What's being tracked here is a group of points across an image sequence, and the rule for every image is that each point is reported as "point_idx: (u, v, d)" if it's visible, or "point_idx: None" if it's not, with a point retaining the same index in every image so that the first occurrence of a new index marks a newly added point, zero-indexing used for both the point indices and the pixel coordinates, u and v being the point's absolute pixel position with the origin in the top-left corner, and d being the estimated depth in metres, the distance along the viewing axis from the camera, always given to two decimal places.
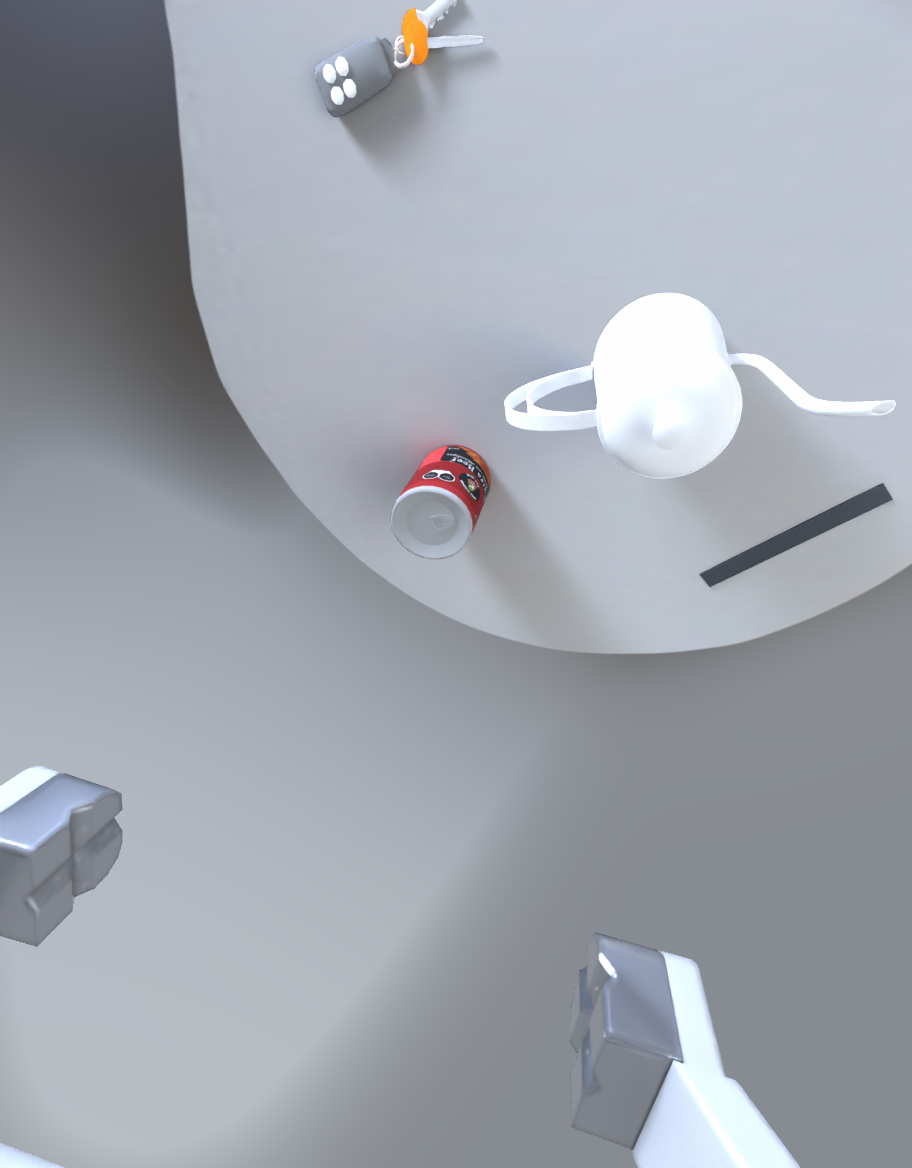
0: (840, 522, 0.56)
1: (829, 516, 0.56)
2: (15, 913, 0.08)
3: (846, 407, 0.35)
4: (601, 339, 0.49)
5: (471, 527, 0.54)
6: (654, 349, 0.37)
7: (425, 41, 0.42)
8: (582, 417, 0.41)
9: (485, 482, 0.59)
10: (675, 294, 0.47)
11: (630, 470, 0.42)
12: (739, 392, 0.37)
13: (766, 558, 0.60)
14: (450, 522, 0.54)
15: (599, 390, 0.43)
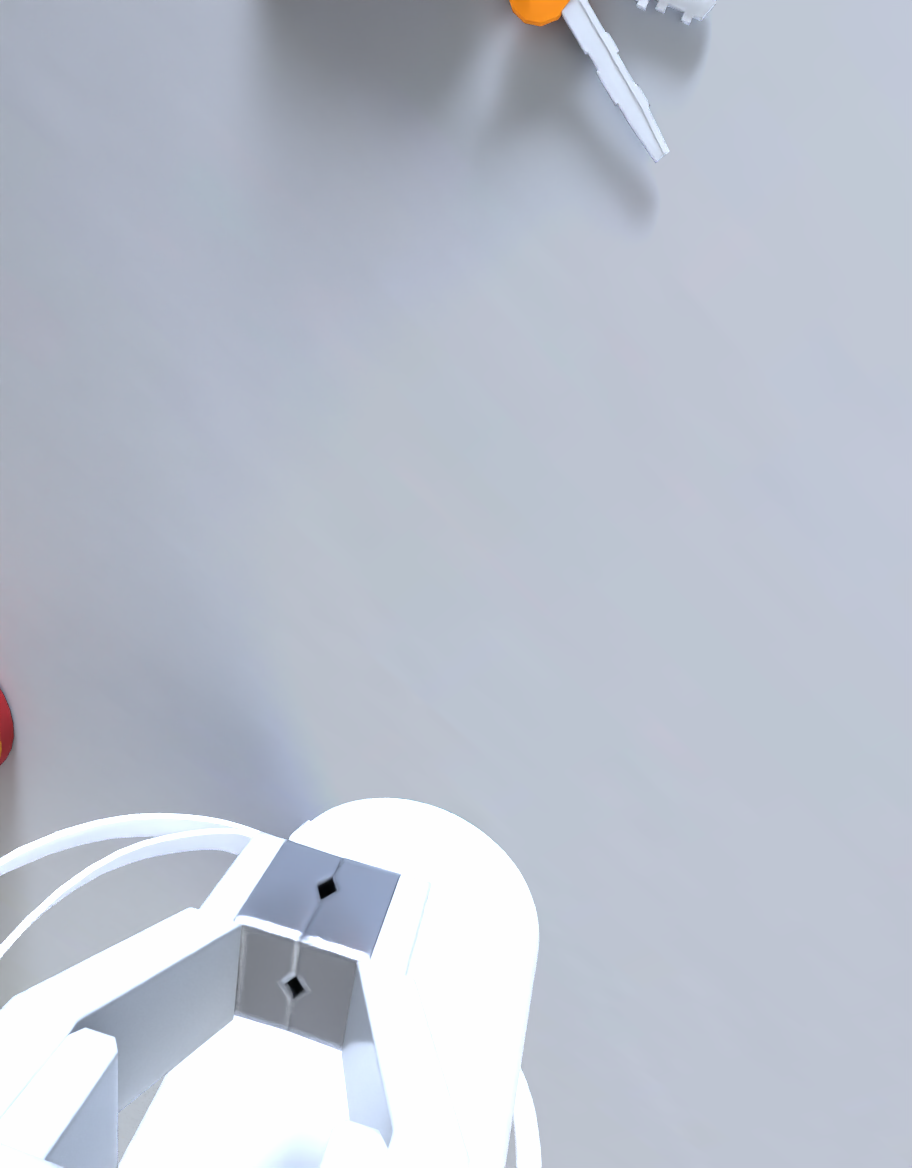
0: None
1: None
2: (271, 998, 0.08)
3: None
4: (347, 832, 0.21)
5: None
6: None
7: None
8: None
9: None
10: (517, 886, 0.21)
11: None
12: None
13: None
14: None
15: (156, 1148, 0.13)
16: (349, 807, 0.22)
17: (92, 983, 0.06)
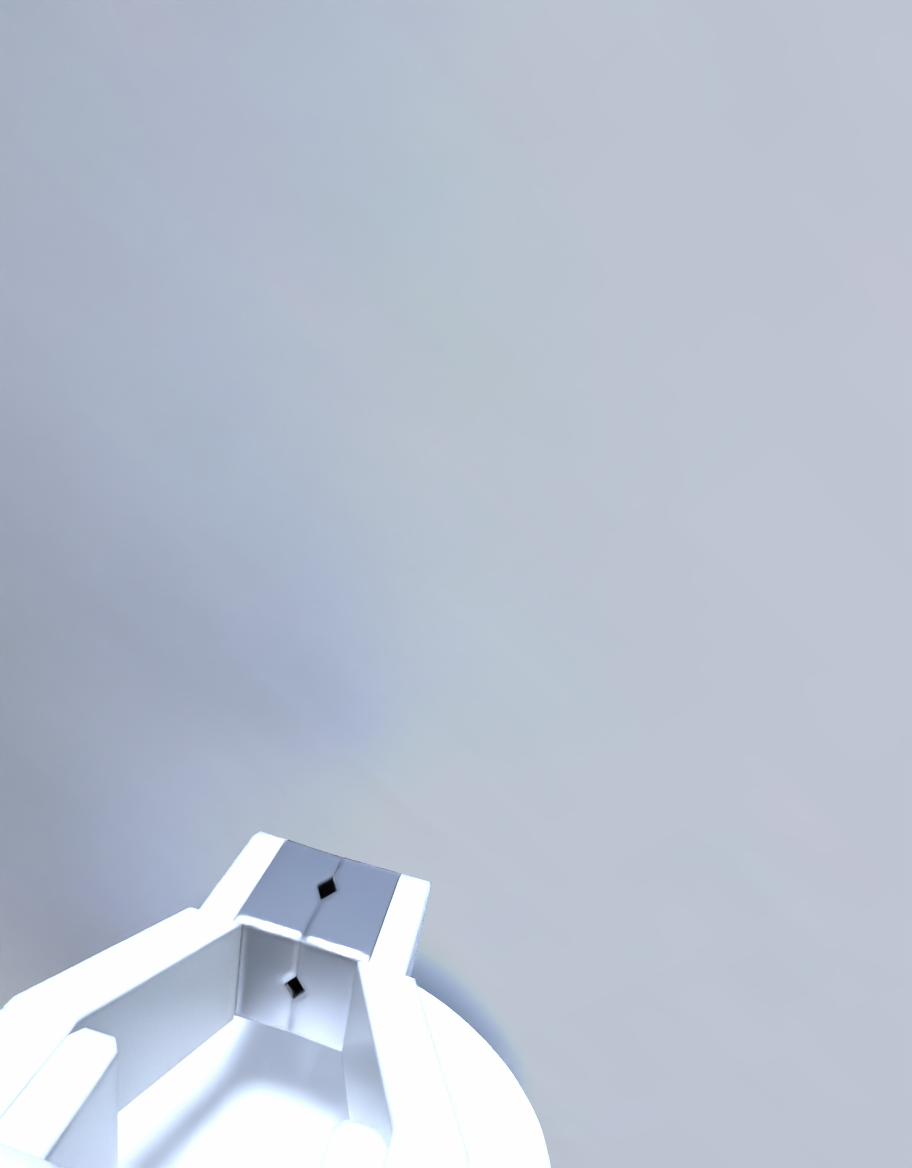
0: None
1: None
2: (270, 997, 0.08)
3: None
4: None
5: None
6: None
7: None
8: None
9: None
10: (510, 1128, 0.11)
11: None
12: None
13: None
14: None
15: None
16: None
17: (92, 983, 0.06)
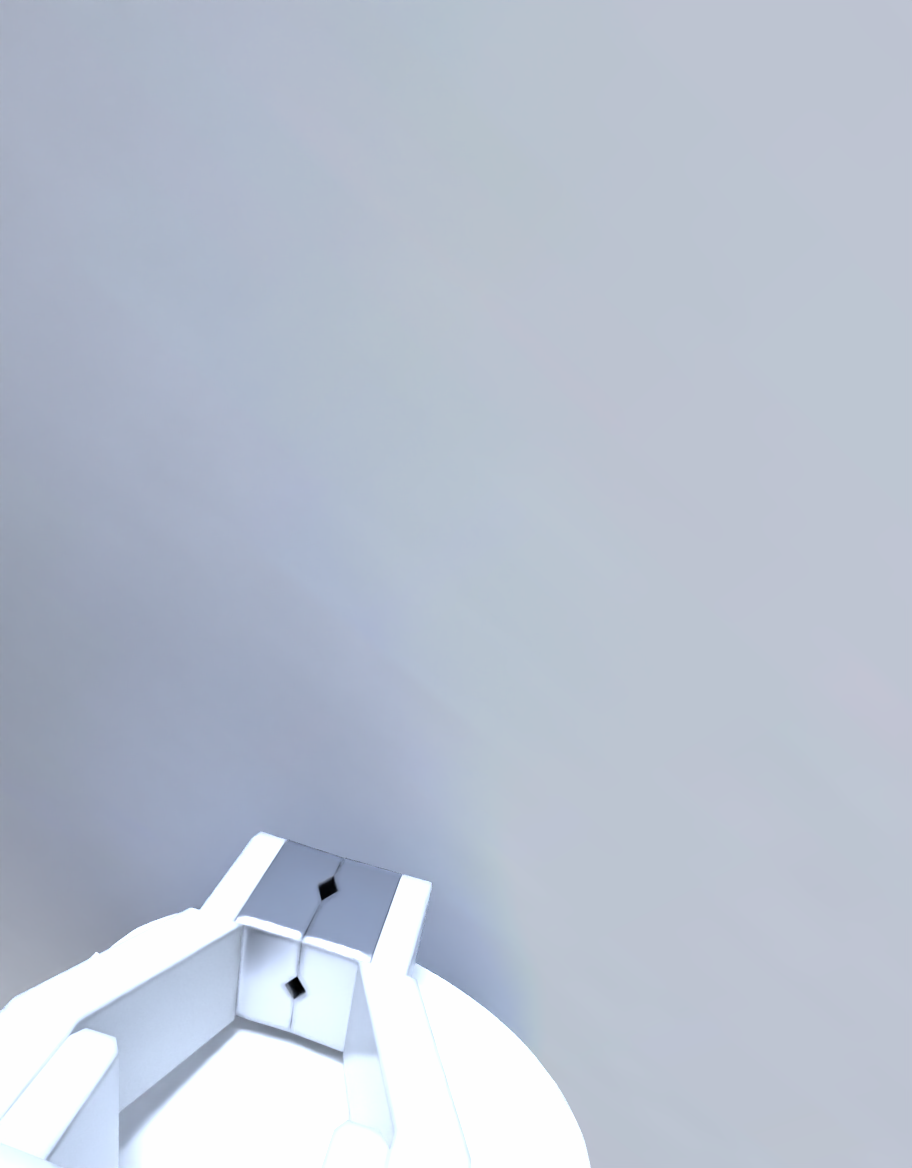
0: None
1: None
2: (271, 998, 0.08)
3: None
4: None
5: None
6: None
7: None
8: None
9: None
10: (538, 1142, 0.09)
11: None
12: None
13: None
14: None
15: None
16: None
17: (93, 983, 0.06)
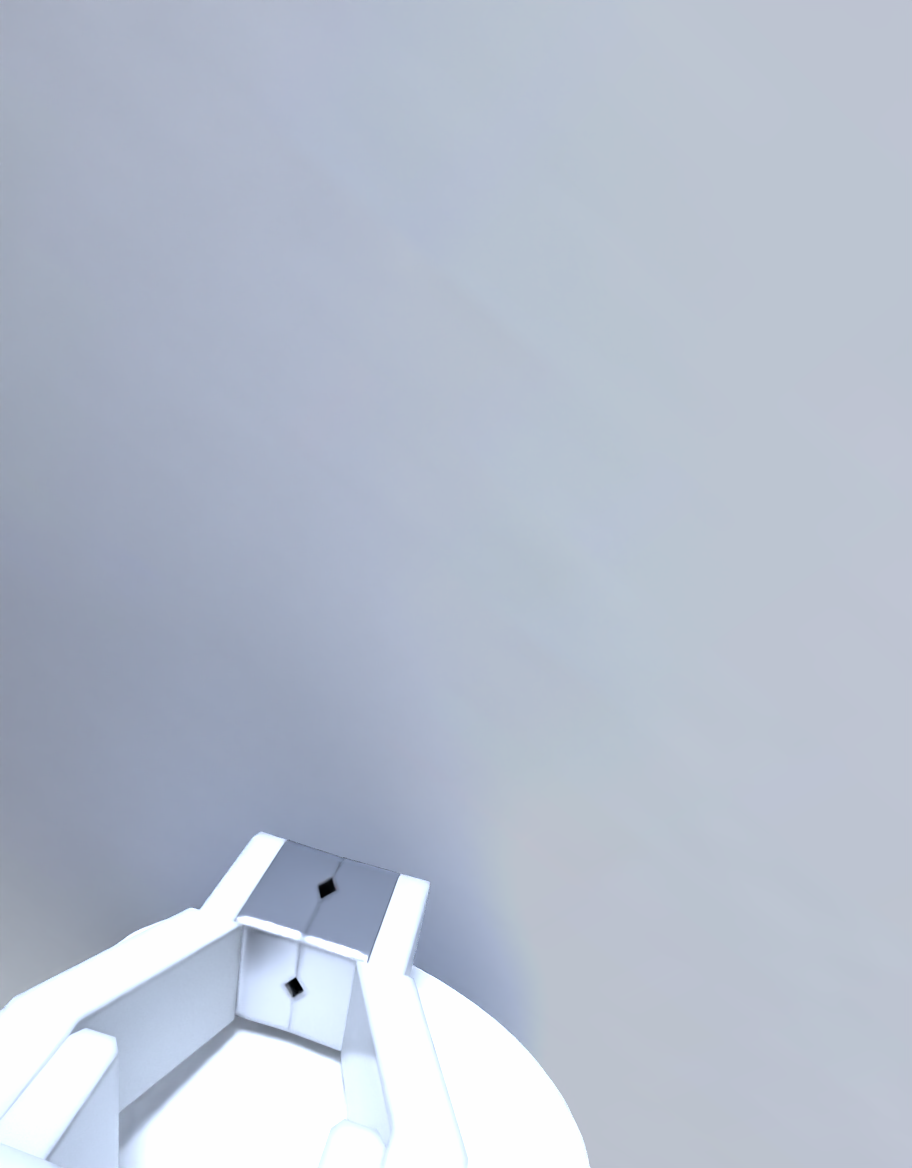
0: None
1: None
2: (271, 998, 0.08)
3: None
4: None
5: None
6: None
7: None
8: None
9: None
10: (537, 1144, 0.09)
11: None
12: None
13: None
14: None
15: None
16: None
17: (93, 983, 0.06)
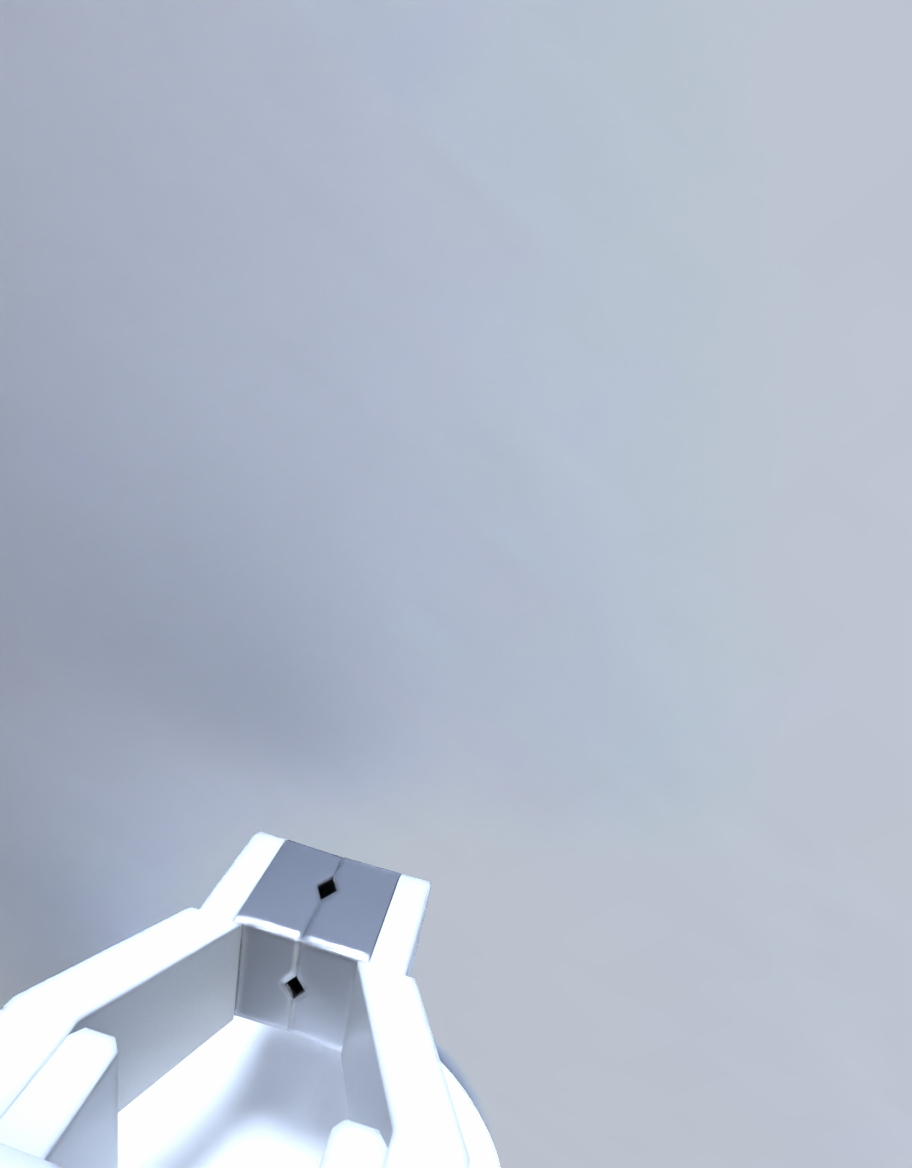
0: None
1: None
2: (270, 998, 0.08)
3: None
4: None
5: None
6: None
7: None
8: None
9: None
10: None
11: None
12: None
13: None
14: None
15: None
16: None
17: (92, 983, 0.06)
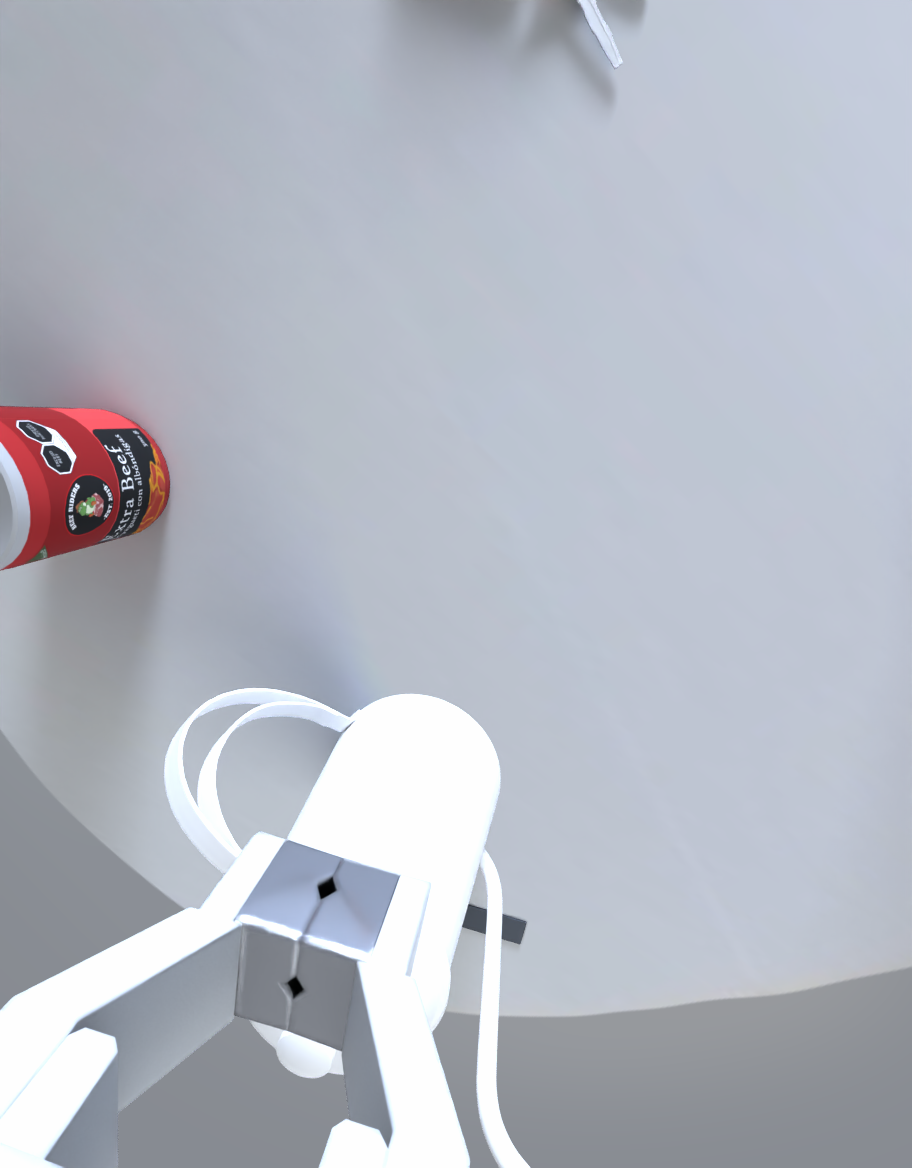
0: None
1: None
2: (270, 998, 0.08)
3: None
4: (385, 709, 0.35)
5: (7, 561, 0.27)
6: None
7: None
8: None
9: (134, 520, 0.33)
10: (486, 741, 0.35)
11: None
12: (433, 1028, 0.24)
13: None
14: None
15: (309, 821, 0.27)
16: (384, 699, 0.36)
17: (92, 983, 0.06)
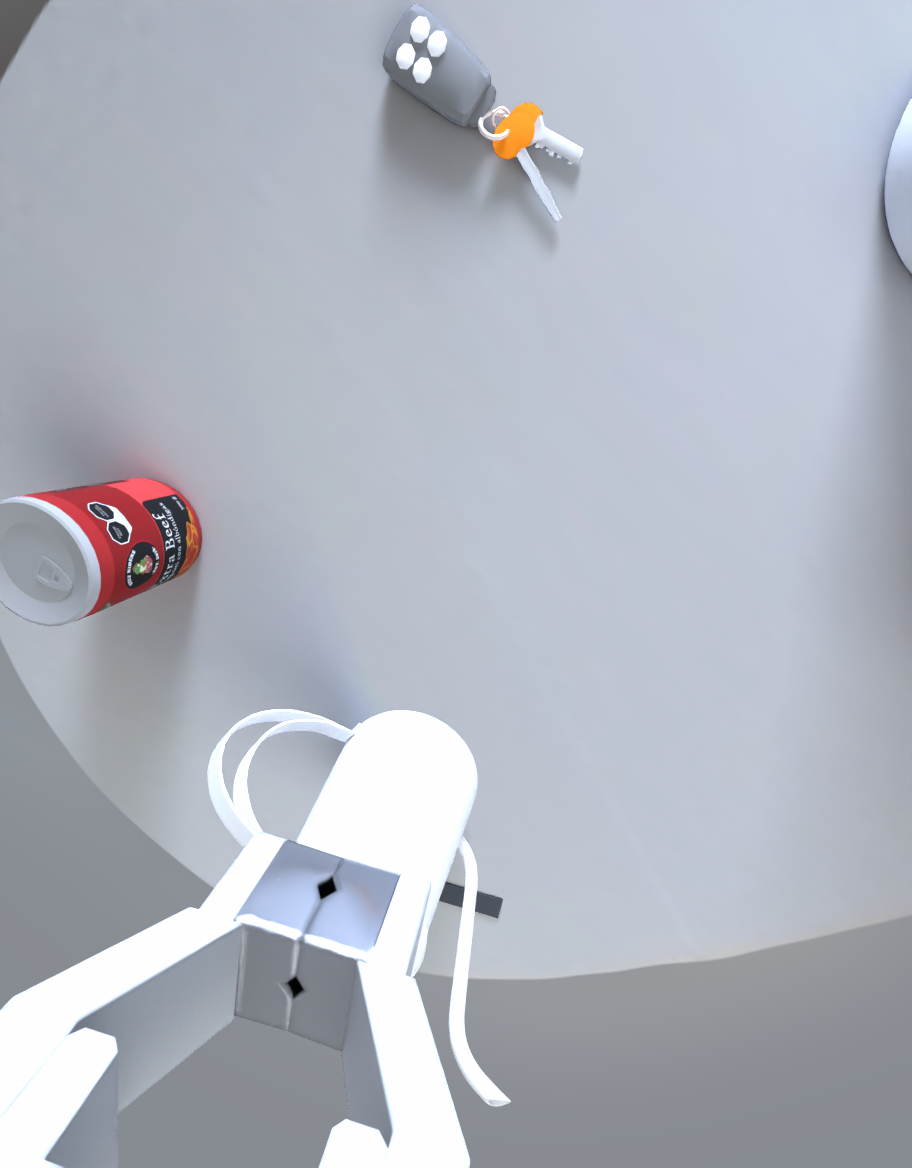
0: (446, 900, 0.49)
1: (443, 888, 0.49)
2: (270, 998, 0.08)
3: (474, 1078, 0.31)
4: (381, 723, 0.42)
5: (83, 615, 0.34)
6: None
7: (520, 146, 0.32)
8: None
9: (174, 570, 0.41)
10: (465, 750, 0.43)
11: None
12: (414, 973, 0.31)
13: None
14: (63, 585, 0.34)
15: (319, 817, 0.34)
16: (380, 715, 0.43)
17: (92, 983, 0.06)
